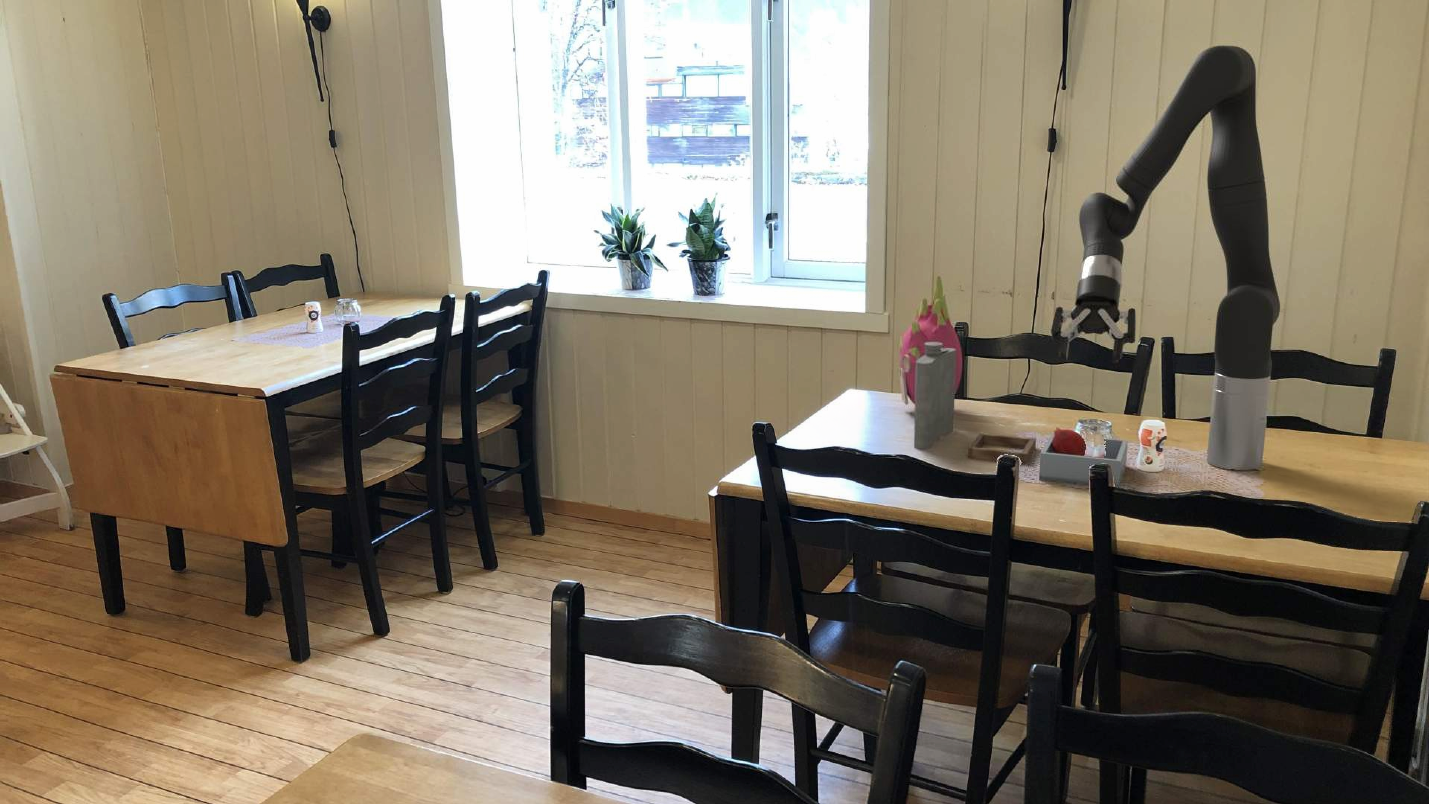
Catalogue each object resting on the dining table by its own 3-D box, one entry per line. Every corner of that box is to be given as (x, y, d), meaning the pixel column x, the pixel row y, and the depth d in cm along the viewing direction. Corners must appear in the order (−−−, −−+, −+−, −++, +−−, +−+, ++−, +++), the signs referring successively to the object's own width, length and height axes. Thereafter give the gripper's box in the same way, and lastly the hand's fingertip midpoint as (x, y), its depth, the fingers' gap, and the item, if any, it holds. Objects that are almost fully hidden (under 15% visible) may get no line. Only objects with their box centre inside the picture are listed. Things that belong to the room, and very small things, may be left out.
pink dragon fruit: (886, 403, 253) (888, 273, 246) (943, 399, 255) (946, 270, 248) (913, 423, 236) (915, 284, 229) (973, 419, 238) (977, 281, 231)
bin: (1125, 465, 205) (1127, 440, 204) (1118, 488, 193) (1120, 461, 192) (1050, 458, 210) (1051, 433, 209) (1039, 479, 198) (1040, 453, 197)
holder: (1035, 448, 217) (1035, 438, 216) (1025, 464, 207) (1026, 454, 207) (979, 442, 221) (979, 433, 221) (967, 458, 212) (967, 448, 211)
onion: (1095, 452, 198) (1068, 416, 201) (1068, 470, 199) (1041, 434, 202) (1094, 455, 204) (1068, 421, 206) (1068, 473, 205) (1042, 438, 207)
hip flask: (926, 450, 217) (928, 351, 212) (907, 447, 220) (909, 349, 215) (955, 430, 230) (958, 336, 225) (937, 428, 232) (939, 335, 227)
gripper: (1057, 273, 203) (1046, 346, 195) (1139, 273, 196) (1131, 348, 189) (1060, 297, 208) (1050, 369, 201) (1141, 298, 202) (1133, 372, 195)
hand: (1089, 359), depth 195 cm, fingers open, 8 cm apart
